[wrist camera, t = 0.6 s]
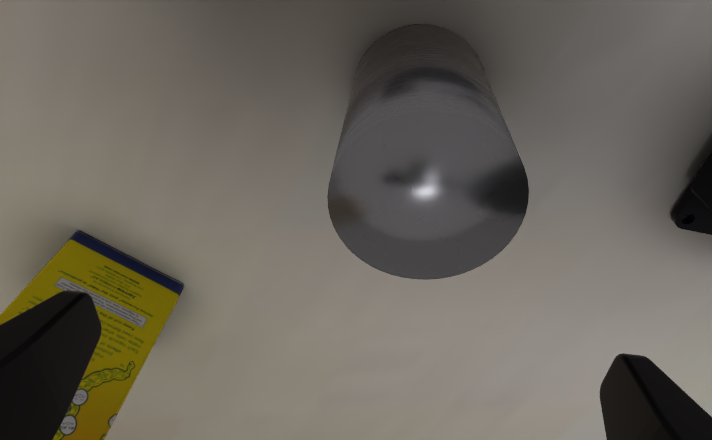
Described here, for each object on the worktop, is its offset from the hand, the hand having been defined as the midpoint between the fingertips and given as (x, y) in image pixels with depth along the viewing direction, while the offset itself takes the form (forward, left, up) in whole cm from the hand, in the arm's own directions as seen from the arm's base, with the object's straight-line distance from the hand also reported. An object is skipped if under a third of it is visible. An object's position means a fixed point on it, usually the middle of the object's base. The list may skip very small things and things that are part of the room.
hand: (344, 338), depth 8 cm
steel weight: (-2, 0, -13) cm, 13 cm away
